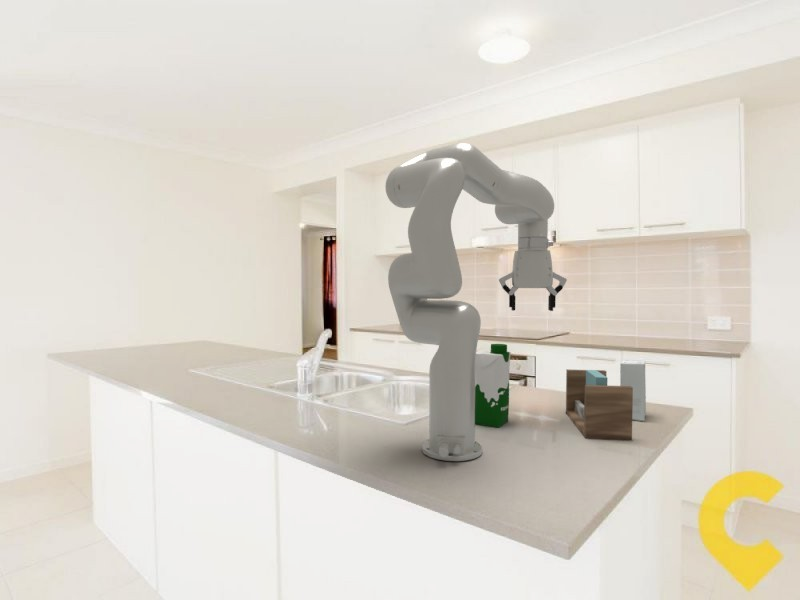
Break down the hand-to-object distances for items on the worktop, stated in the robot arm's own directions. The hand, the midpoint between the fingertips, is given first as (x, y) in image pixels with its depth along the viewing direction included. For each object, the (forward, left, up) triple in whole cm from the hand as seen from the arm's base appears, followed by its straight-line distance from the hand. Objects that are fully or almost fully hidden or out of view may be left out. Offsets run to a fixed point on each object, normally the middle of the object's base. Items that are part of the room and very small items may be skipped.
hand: (531, 310), depth 127 cm
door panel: (-6, -15, -27) cm, 32 cm away
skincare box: (+4, -27, -28) cm, 39 cm away
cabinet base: (-6, -15, -28) cm, 33 cm away
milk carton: (-7, +11, -28) cm, 31 cm away
